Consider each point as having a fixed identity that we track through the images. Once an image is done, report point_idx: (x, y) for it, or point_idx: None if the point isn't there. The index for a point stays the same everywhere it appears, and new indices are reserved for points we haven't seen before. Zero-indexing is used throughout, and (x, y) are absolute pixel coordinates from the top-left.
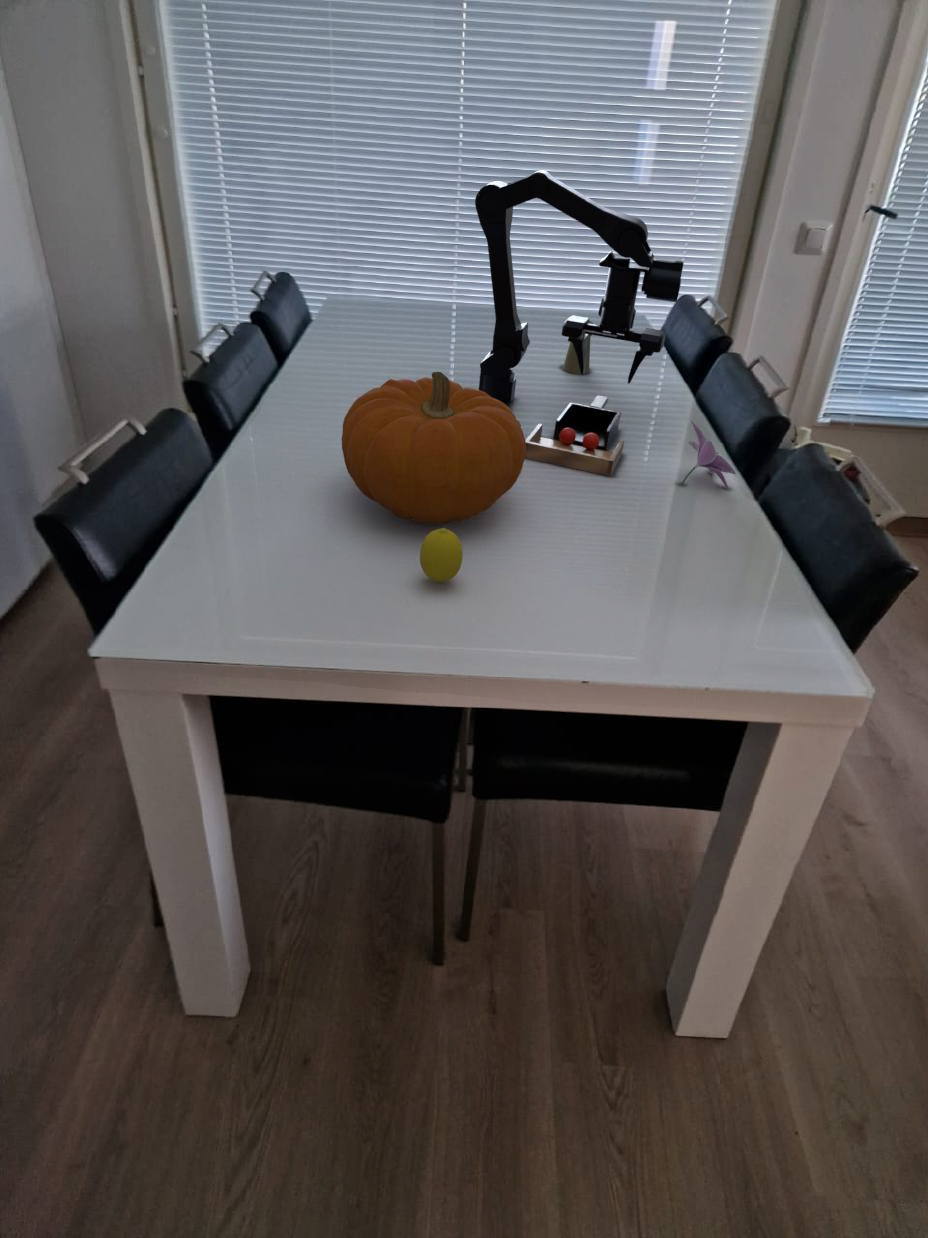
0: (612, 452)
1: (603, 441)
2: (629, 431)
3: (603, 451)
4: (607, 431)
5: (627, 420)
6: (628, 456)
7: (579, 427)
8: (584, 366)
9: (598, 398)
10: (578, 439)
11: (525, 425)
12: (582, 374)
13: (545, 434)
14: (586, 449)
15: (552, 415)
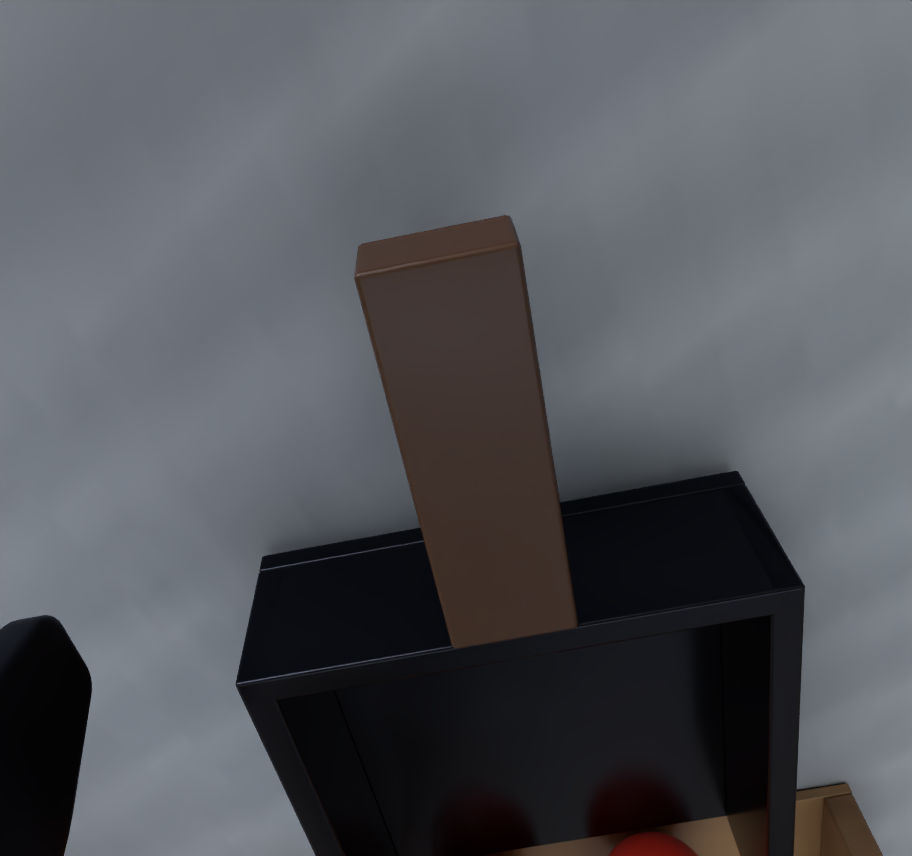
0: None
1: (705, 764)
2: (841, 388)
3: None
4: None
5: (771, 103)
6: (892, 763)
7: (454, 679)
8: (27, 797)
9: (428, 390)
10: (541, 827)
11: (93, 786)
12: (87, 690)
13: (293, 812)
14: None
15: (85, 521)
